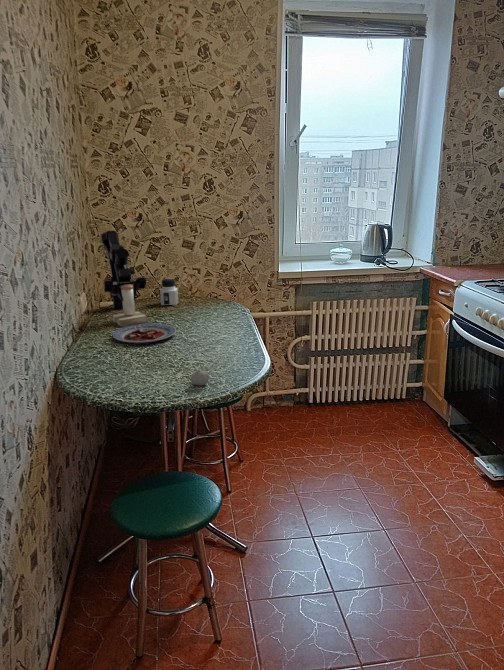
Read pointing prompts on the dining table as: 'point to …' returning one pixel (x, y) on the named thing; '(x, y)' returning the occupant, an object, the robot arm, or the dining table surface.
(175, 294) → the container
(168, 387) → the dining table surface
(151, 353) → the dining table surface
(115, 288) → the robot arm
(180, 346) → the dining table surface
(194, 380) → the garlic
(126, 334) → the ceramic plate
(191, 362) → the dining table surface
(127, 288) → the jar
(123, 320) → the base block
